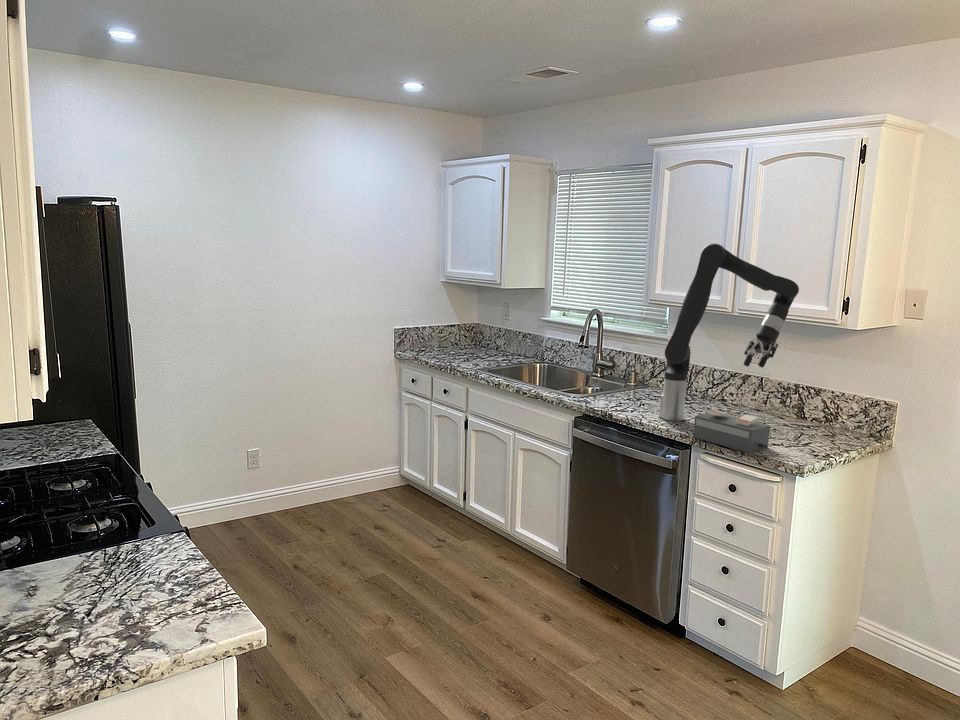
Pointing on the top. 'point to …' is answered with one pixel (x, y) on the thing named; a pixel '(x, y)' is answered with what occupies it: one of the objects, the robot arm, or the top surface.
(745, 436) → the switch box
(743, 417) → the right rocker
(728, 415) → the left rocker
